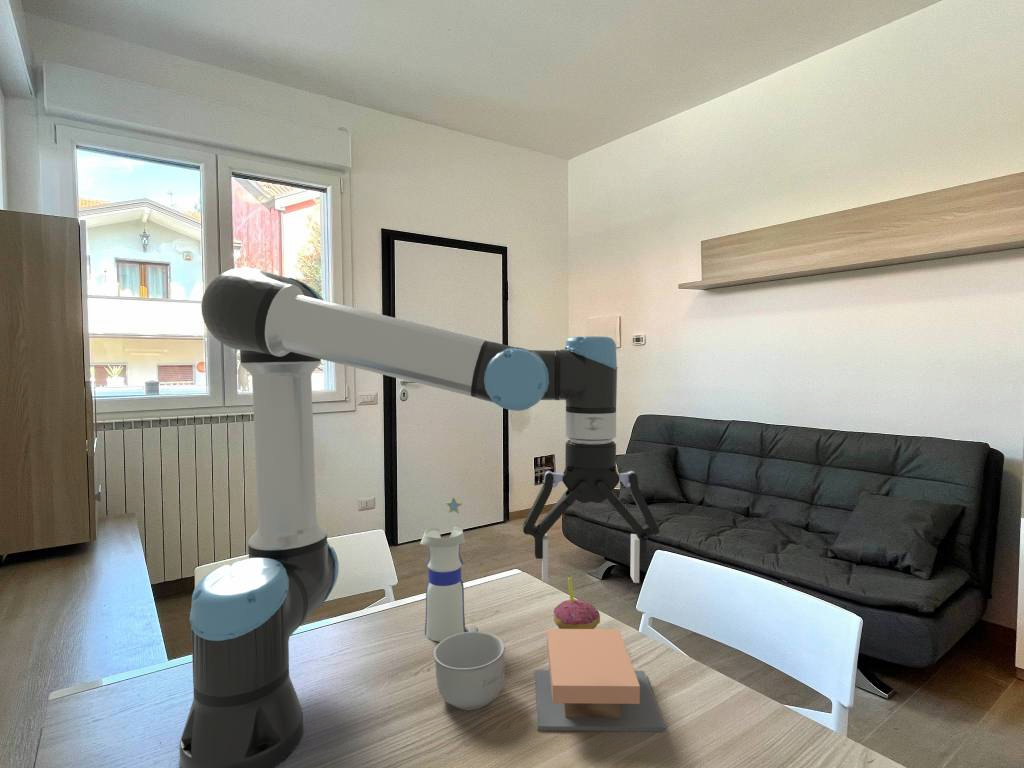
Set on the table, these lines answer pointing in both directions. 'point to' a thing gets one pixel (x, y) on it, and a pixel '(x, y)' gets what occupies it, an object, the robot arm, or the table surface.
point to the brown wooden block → (592, 710)
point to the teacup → (470, 668)
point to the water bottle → (444, 582)
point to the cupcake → (576, 613)
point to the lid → (590, 667)
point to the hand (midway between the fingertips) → (589, 579)
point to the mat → (631, 719)
